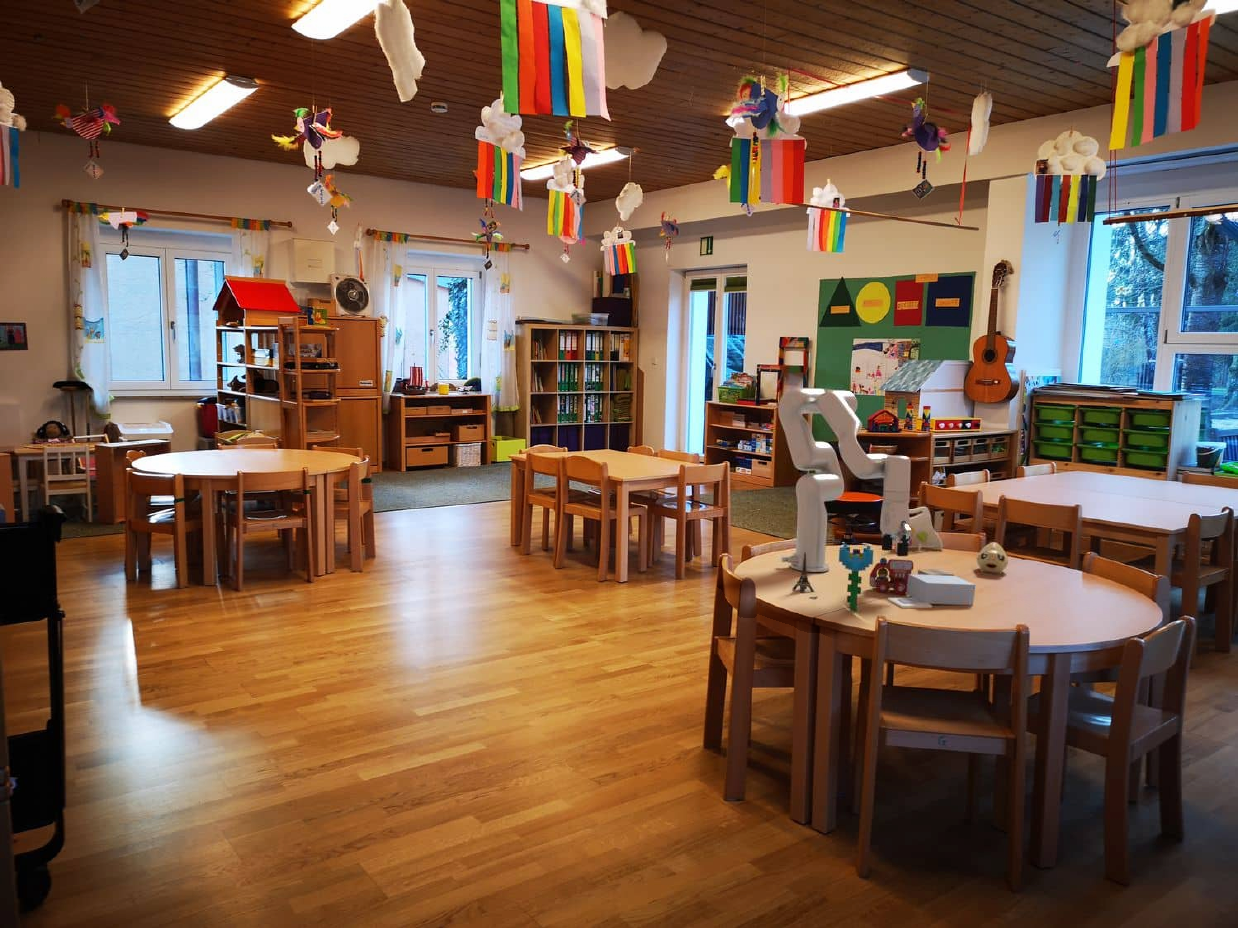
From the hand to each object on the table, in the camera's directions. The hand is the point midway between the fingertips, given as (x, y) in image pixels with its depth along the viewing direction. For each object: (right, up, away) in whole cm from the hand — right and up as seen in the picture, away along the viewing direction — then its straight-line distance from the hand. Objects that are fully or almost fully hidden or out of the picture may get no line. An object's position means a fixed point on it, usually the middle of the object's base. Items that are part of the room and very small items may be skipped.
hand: (894, 553), depth 265 cm
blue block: (+11, -13, -7) cm, 18 cm away
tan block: (+14, -12, +5) cm, 19 cm away
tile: (+1, -13, -12) cm, 18 cm away
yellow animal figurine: (+42, -10, +30) cm, 53 cm away
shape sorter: (+25, -7, +60) cm, 65 cm away
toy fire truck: (-1, -12, +2) cm, 12 cm away
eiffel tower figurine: (-27, -12, -1) cm, 30 cm away
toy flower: (-18, -14, -21) cm, 31 cm away
